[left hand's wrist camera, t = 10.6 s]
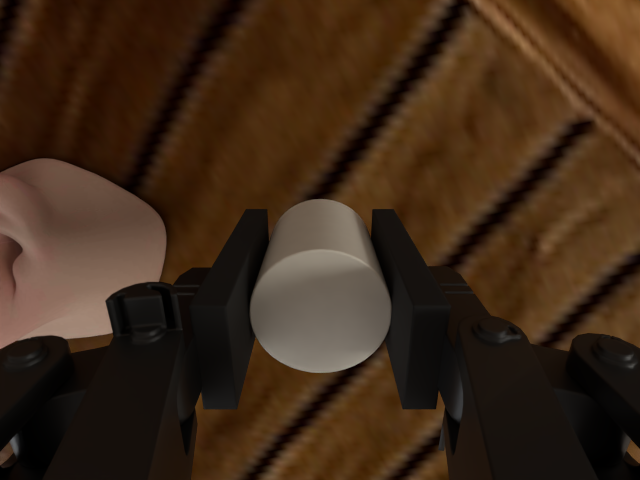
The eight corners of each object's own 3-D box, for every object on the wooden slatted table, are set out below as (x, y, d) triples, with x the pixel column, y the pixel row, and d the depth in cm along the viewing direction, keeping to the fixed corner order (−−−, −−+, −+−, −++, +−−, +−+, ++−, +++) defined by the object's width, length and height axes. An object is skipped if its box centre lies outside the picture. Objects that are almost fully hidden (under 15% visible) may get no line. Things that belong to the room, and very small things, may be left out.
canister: (257, 212, 14) (228, 269, 10) (358, 187, 14) (377, 234, 9) (286, 300, 15) (272, 385, 11) (379, 279, 15) (404, 358, 11)
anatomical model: (129, 187, 16) (146, 397, 21) (164, 169, 20) (172, 350, 24) (-198, 155, 16) (-113, 377, 20) (-100, 143, 20) (-45, 332, 24)
